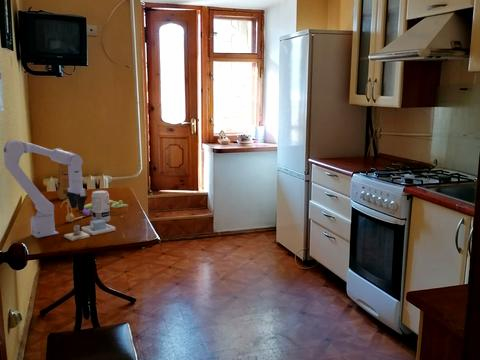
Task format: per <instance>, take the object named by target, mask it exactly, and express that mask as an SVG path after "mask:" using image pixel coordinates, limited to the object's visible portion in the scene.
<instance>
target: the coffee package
mask: <svg viewBox="0 0 480 360" xmlns="http://www.w3.org/2000/svg"><path fill="white" fill-rule="evenodd" d="M57 171H58V173H57V185H56V186H57V187H56V189H57V190H56V191H57V196H58V199H59V200H63V201H64V200H67V199H68V197H67V196H66V193H69V192H68V188H69V174H68V164H62V163H59V162H58V169H57Z"/></svg>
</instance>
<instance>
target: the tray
mask: <svg viewBox="0 0 480 360" xmlns="http://www.w3.org/2000/svg"><path fill="white" fill-rule="evenodd" d="M81 231H83V232H85V233H87V234H89V235H90V236H97V235H102V234H105V233H110V232H114V231H115V232H116V226H114V225H111V224H108V223H106V229H103V230H98V231H92V230H90V225H85V226H81Z"/></svg>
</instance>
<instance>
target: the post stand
mask: <svg viewBox="0 0 480 360" xmlns="http://www.w3.org/2000/svg"><path fill="white" fill-rule="evenodd" d="M63 237H64V238H65V239H68V240H70V241H71V242H72V241H78V240H82V239H87V238H91V234H89V233H87V232H84V231H82V230H81V229H80V225H78V224H75V225H73V232H70V233H65V234H64V235H63Z"/></svg>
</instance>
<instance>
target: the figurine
mask: <svg viewBox="0 0 480 360" xmlns="http://www.w3.org/2000/svg"><path fill="white" fill-rule="evenodd" d="M65 202H67V204H66V209H67V214H66V216H65V220H66V221H67V222H68V223H72V222H74V220H75V215H74V214H73V208H71V205H70V202H69V199H64V200H63V201H62V203H61V205H60V208H62V206H63V204H64V203H65ZM69 210H70V211H69Z"/></svg>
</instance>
